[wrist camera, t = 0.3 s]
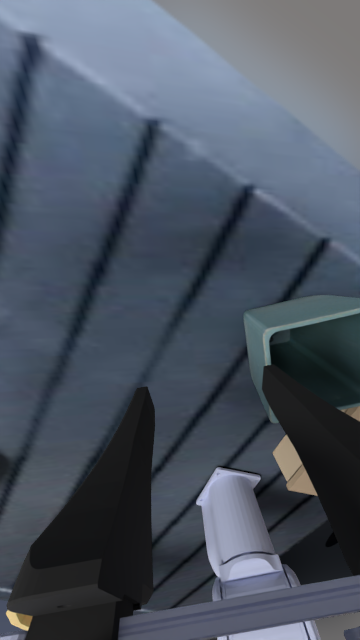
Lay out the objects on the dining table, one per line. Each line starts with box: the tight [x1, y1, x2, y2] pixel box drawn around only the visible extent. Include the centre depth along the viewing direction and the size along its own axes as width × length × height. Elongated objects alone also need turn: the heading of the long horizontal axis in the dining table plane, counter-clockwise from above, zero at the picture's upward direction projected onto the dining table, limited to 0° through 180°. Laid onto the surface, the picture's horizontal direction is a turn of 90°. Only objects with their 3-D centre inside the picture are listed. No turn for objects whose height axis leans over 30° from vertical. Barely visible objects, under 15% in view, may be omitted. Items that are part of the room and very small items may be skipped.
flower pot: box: [243, 295, 360, 423], centre depth 18 cm, size 9×9×9 cm
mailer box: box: [273, 408, 349, 482], centre depth 26 cm, size 16×11×4 cm
